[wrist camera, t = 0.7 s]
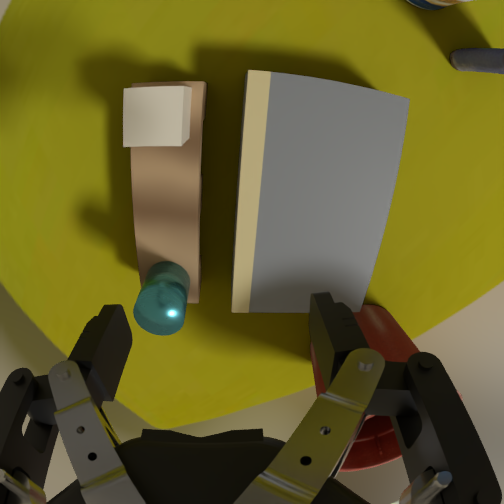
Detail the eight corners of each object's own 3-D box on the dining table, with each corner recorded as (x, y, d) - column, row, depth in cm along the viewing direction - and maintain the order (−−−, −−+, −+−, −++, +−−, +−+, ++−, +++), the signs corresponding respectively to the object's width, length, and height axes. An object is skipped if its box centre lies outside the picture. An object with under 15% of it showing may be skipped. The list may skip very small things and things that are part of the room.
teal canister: (144, 260, 27) (130, 293, 23) (189, 262, 28) (182, 296, 23) (148, 297, 29) (137, 333, 25) (191, 299, 30) (185, 336, 25)
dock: (245, 74, 24) (248, 69, 19) (383, 96, 25) (410, 99, 20) (231, 282, 34) (231, 312, 29) (345, 284, 35) (359, 312, 30)
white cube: (140, 88, 20) (123, 88, 17) (191, 87, 21) (183, 85, 17) (139, 138, 22) (123, 146, 19) (189, 138, 22) (181, 146, 19)
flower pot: (414, 275, 35) (483, 367, 21) (400, 360, 43) (439, 442, 29) (286, 305, 36) (314, 426, 22) (299, 386, 44) (319, 481, 29)
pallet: (145, 84, 23) (131, 83, 20) (207, 83, 24) (203, 81, 20) (150, 278, 33) (142, 300, 29) (201, 280, 33) (198, 303, 30)
